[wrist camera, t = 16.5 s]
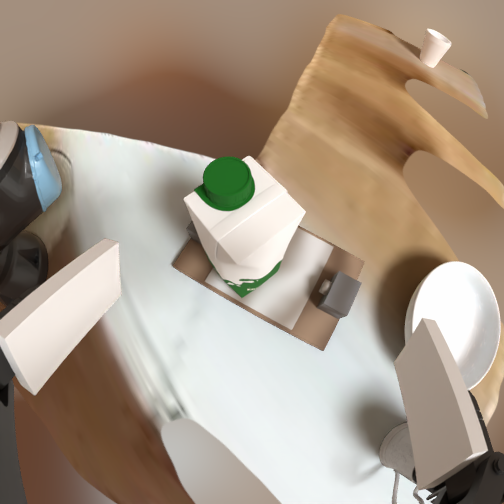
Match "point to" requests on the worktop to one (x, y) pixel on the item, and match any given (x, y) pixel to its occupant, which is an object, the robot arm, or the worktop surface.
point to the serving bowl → (459, 316)
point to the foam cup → (433, 47)
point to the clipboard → (290, 285)
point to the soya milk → (243, 221)
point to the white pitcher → (401, 459)
